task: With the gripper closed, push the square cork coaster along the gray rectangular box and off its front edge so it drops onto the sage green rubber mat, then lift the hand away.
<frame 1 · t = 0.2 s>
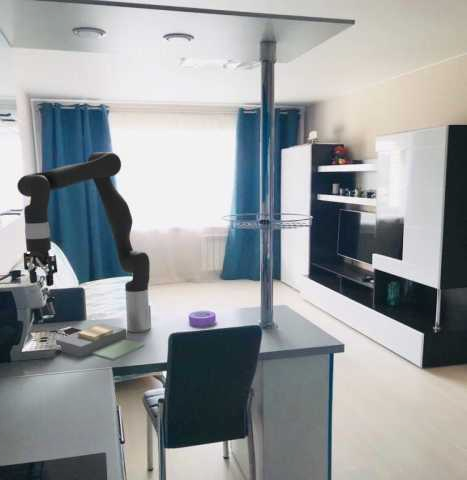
hand: (41, 284, 156), 29 cm above the breakfast bar, tool pointing down, fingers open, 8 cm apart
smartphone: (74, 334, 193), on the breakfast bar
cork coaster: (95, 335, 179), point 4 cm above the breakfast bar, touching gray rectangular box
gray rectangular box: (92, 344, 180), on the breakfast bar
sage mat: (118, 349, 174), on the breakfast bar
masking tape: (202, 323, 205), on the breakfast bar
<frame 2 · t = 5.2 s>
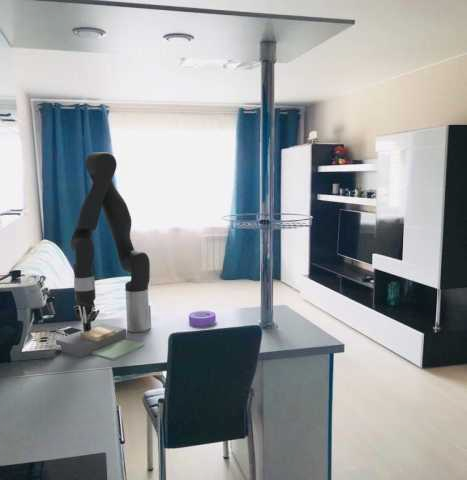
hand: (87, 331, 181), 5 cm above the breakfast bar, tool pointing down, fingers closed
cork coaster: (98, 335, 178), point 4 cm above the breakfast bar, touching gray rectangular box
everything else where it was.
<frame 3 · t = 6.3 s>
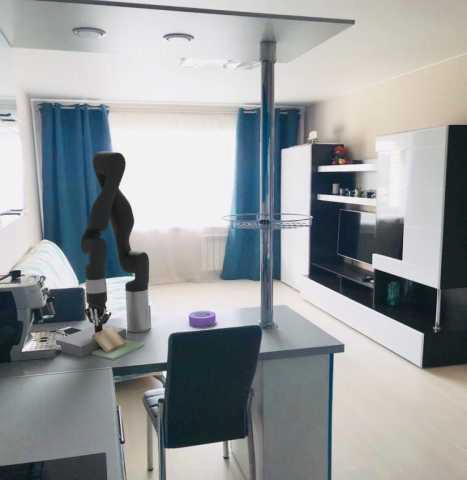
hand: (98, 334, 177), 5 cm above the breakfast bar, tool pointing down, fingers closed
cork coaster: (108, 341, 175), point 3 cm above the breakfast bar, tilted 31°, touching gripper, sage mat
everything else where it was.
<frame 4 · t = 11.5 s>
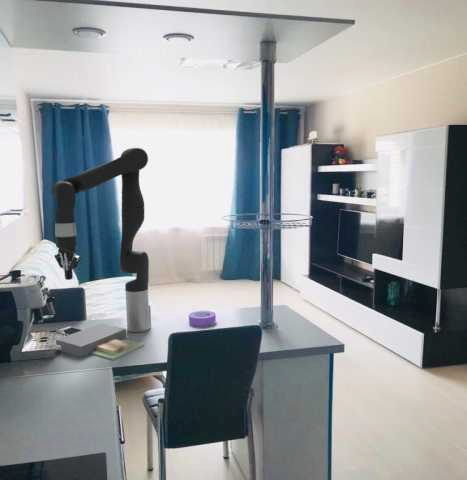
hand: (68, 279, 180), 25 cm above the breakfast bar, tool pointing down, fingers closed
cork coaster: (113, 348, 174), point 1 cm above the breakfast bar, touching sage mat
everything else where it was.
at the end: cork coaster inside the target area (1.8 cm from its centre), point 0.6 cm above the breakfast bar; cork coaster touching sage mat; the gripper is holding nothing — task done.
